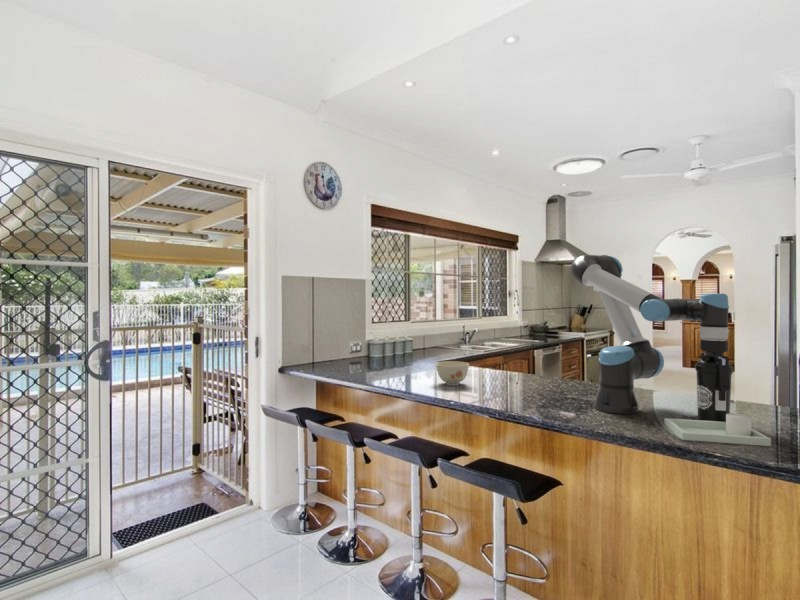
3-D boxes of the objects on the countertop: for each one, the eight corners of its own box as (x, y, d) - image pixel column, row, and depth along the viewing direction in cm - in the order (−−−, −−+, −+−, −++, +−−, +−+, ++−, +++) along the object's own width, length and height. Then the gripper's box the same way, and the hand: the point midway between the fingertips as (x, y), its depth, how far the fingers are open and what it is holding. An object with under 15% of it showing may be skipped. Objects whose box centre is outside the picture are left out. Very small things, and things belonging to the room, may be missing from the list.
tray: (682, 443, 125) (682, 432, 125) (664, 427, 140) (664, 418, 140) (770, 449, 120) (770, 438, 120) (742, 432, 134) (742, 422, 134)
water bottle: (687, 420, 147) (688, 353, 147) (715, 419, 148) (715, 353, 148) (711, 429, 137) (711, 358, 137) (740, 428, 138) (741, 357, 138)
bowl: (434, 387, 199) (434, 366, 199) (437, 380, 215) (437, 360, 215) (469, 388, 197) (469, 367, 197) (469, 381, 213) (469, 361, 212)
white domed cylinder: (731, 438, 126) (732, 418, 126) (721, 432, 132) (722, 412, 132) (755, 440, 124) (755, 419, 124) (744, 433, 130) (744, 414, 130)
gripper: (744, 343, 131) (744, 416, 131) (711, 336, 152) (711, 398, 152) (716, 343, 132) (715, 414, 133) (687, 335, 154) (687, 397, 154)
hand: (713, 406), depth 143 cm, fingers closed on water bottle, 9 cm apart
